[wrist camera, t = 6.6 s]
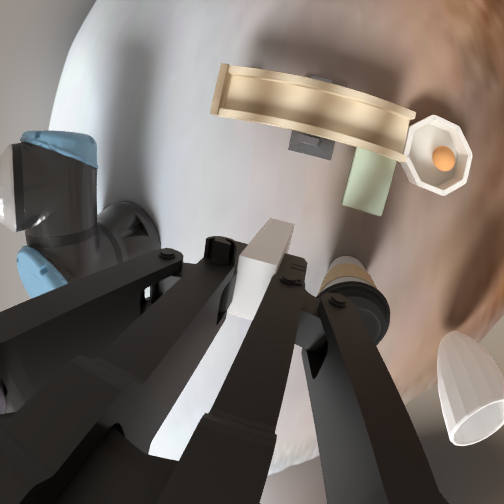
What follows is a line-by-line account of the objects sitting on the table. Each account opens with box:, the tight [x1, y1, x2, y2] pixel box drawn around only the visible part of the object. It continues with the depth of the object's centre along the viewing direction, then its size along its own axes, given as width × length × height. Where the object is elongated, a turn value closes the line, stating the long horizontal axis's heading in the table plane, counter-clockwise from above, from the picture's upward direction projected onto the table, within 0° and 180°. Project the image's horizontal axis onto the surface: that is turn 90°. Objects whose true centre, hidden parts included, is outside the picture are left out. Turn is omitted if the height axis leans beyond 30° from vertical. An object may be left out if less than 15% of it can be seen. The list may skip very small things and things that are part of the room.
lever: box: [210, 63, 416, 217], centre depth 29 cm, size 22×13×3 cm, turn 78°
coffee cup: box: [316, 256, 390, 345], centre depth 35 cm, size 9×9×15 cm
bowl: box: [400, 115, 472, 196], centre depth 30 cm, size 10×10×4 cm
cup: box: [437, 331, 504, 446], centre depth 29 cm, size 10×10×22 cm
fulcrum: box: [288, 75, 347, 160], centre depth 33 cm, size 14×11×7 cm
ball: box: [432, 146, 455, 171], centre depth 30 cm, size 4×4×4 cm
